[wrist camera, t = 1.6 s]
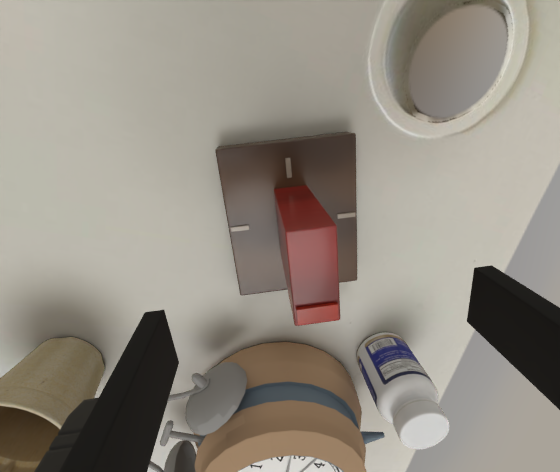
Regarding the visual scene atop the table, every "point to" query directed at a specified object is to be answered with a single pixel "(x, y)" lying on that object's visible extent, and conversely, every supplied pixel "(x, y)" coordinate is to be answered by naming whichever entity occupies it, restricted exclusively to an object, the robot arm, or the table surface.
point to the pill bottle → (402, 390)
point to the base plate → (261, 202)
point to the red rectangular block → (308, 255)
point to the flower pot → (44, 398)
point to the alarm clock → (271, 415)
